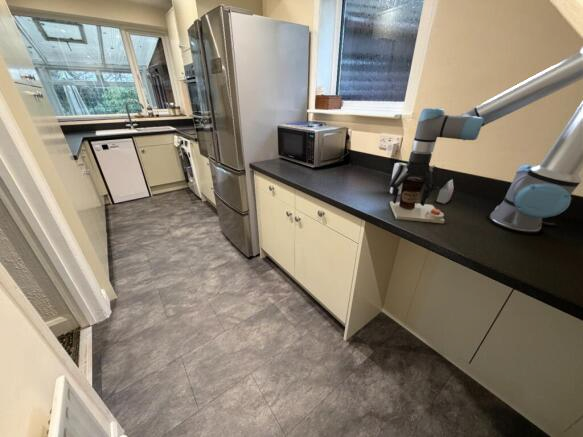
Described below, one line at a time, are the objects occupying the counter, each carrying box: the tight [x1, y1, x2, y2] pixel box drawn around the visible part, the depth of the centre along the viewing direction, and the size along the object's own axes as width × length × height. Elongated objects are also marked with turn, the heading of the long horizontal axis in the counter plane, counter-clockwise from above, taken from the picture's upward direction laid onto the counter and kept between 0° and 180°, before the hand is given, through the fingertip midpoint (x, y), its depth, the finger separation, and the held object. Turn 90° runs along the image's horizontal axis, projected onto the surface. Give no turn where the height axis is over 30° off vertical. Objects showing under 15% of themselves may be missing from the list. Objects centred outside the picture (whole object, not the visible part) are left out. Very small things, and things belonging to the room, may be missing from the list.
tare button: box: [431, 208, 441, 215], centre depth 93 cm, size 3×3×2 cm
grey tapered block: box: [436, 179, 455, 204], centre depth 109 cm, size 4×7×10 cm, turn 131°
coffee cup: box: [399, 176, 425, 209], centre depth 99 cm, size 9×8×13 cm
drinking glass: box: [389, 162, 408, 196], centre depth 116 cm, size 7×7×15 cm
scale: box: [389, 200, 446, 224], centre depth 99 cm, size 18×15×3 cm
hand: (407, 203), depth 101 cm, fingers open, 11 cm apart
